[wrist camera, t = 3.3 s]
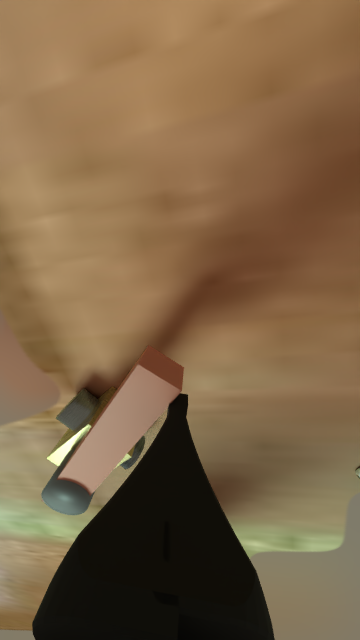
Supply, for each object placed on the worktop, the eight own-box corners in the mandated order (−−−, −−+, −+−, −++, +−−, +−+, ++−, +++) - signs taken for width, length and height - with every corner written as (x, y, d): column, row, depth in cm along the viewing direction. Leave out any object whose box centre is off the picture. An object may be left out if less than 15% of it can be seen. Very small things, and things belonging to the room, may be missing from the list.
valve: (121, 449, 20) (103, 496, 16) (64, 406, 18) (28, 446, 14) (157, 423, 18) (147, 469, 14) (98, 374, 17) (68, 409, 13)
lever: (93, 482, 15) (74, 523, 12) (58, 465, 14) (33, 504, 12) (188, 369, 11) (187, 399, 8) (143, 340, 10) (129, 364, 8)
